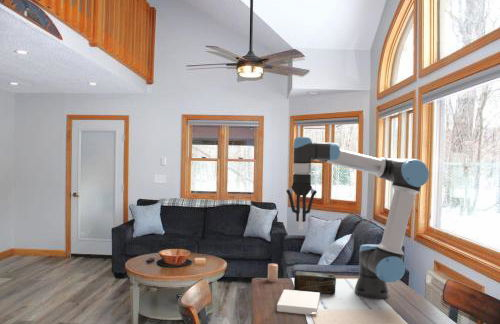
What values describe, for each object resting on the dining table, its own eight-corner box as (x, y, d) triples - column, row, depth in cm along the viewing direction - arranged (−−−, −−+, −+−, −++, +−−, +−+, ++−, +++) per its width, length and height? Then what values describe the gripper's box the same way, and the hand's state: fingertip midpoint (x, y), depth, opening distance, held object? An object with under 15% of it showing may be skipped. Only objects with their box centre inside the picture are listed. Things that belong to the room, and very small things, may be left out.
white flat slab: (319, 299, 183) (319, 292, 183) (316, 316, 164) (317, 308, 164) (283, 295, 187) (284, 289, 187) (276, 311, 167) (277, 304, 167)
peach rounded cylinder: (278, 279, 212) (278, 263, 212) (276, 282, 207) (277, 266, 207) (268, 278, 213) (268, 263, 213) (266, 281, 208) (267, 265, 208)
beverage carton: (334, 290, 195) (335, 295, 189) (294, 287, 199) (293, 291, 192) (335, 274, 195) (336, 277, 189) (294, 270, 199) (294, 274, 192)
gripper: (318, 173, 177) (316, 228, 177) (287, 172, 180) (286, 227, 180) (316, 174, 170) (315, 231, 170) (285, 173, 172) (284, 229, 173)
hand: (300, 229), depth 175 cm, fingers closed
